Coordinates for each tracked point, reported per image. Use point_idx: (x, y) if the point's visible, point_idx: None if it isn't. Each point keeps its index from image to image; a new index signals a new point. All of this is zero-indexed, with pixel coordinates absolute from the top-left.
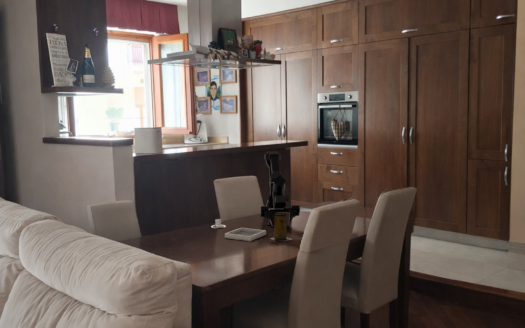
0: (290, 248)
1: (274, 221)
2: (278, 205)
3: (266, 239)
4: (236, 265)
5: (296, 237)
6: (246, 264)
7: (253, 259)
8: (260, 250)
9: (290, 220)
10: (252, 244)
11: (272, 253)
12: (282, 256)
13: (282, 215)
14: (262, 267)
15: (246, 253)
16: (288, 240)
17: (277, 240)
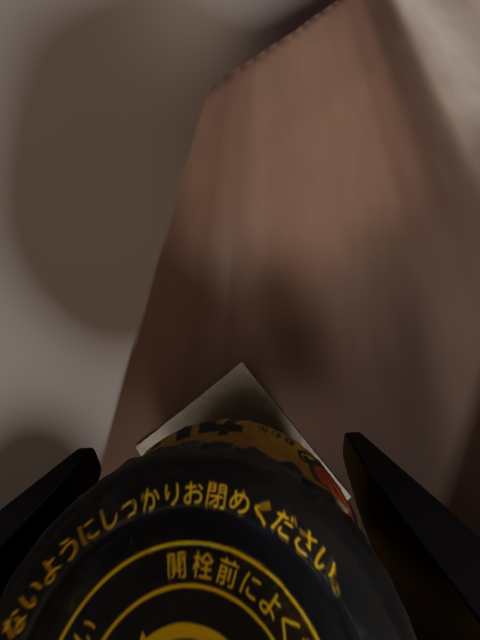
0: (198, 211)
1: (349, 506)
2: None
3: None
4: (430, 17)
5: None
6: (393, 26)
7: (378, 67)
8: (371, 178)
9: (14, 513)
10: (462, 307)
11: (299, 135)
12: (251, 101)
13: (135, 458)
14: (327, 9)
15: (438, 133)
16: (182, 410)
17: (273, 402)
